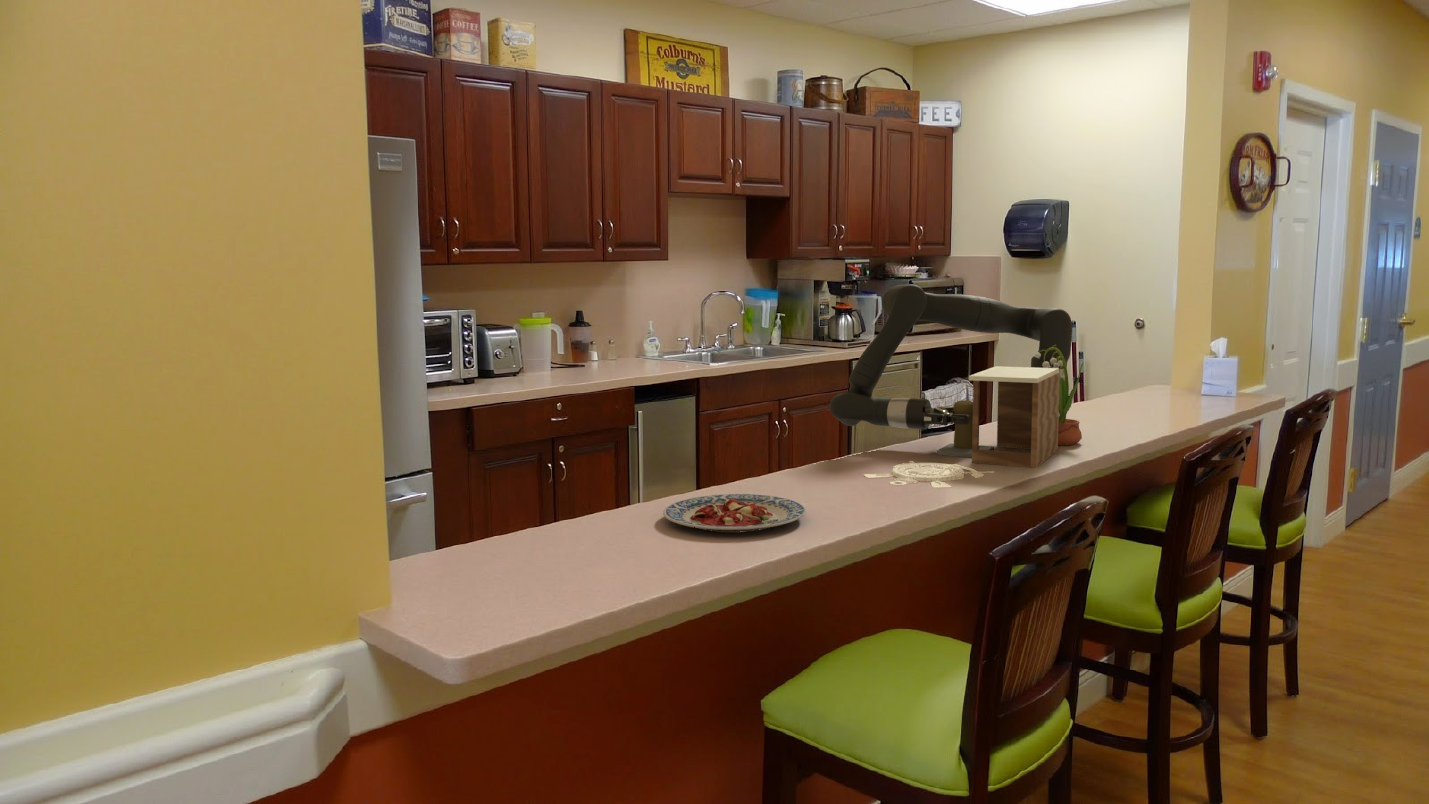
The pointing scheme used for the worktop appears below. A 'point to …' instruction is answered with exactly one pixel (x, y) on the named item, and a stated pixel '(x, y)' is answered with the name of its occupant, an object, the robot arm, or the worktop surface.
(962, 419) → the robot arm
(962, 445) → the cork
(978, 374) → the wooden cabinet
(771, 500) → the ceramic plate
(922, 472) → the pendant
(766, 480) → the worktop surface
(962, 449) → the slate mat
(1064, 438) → the potted flower
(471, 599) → the worktop surface
